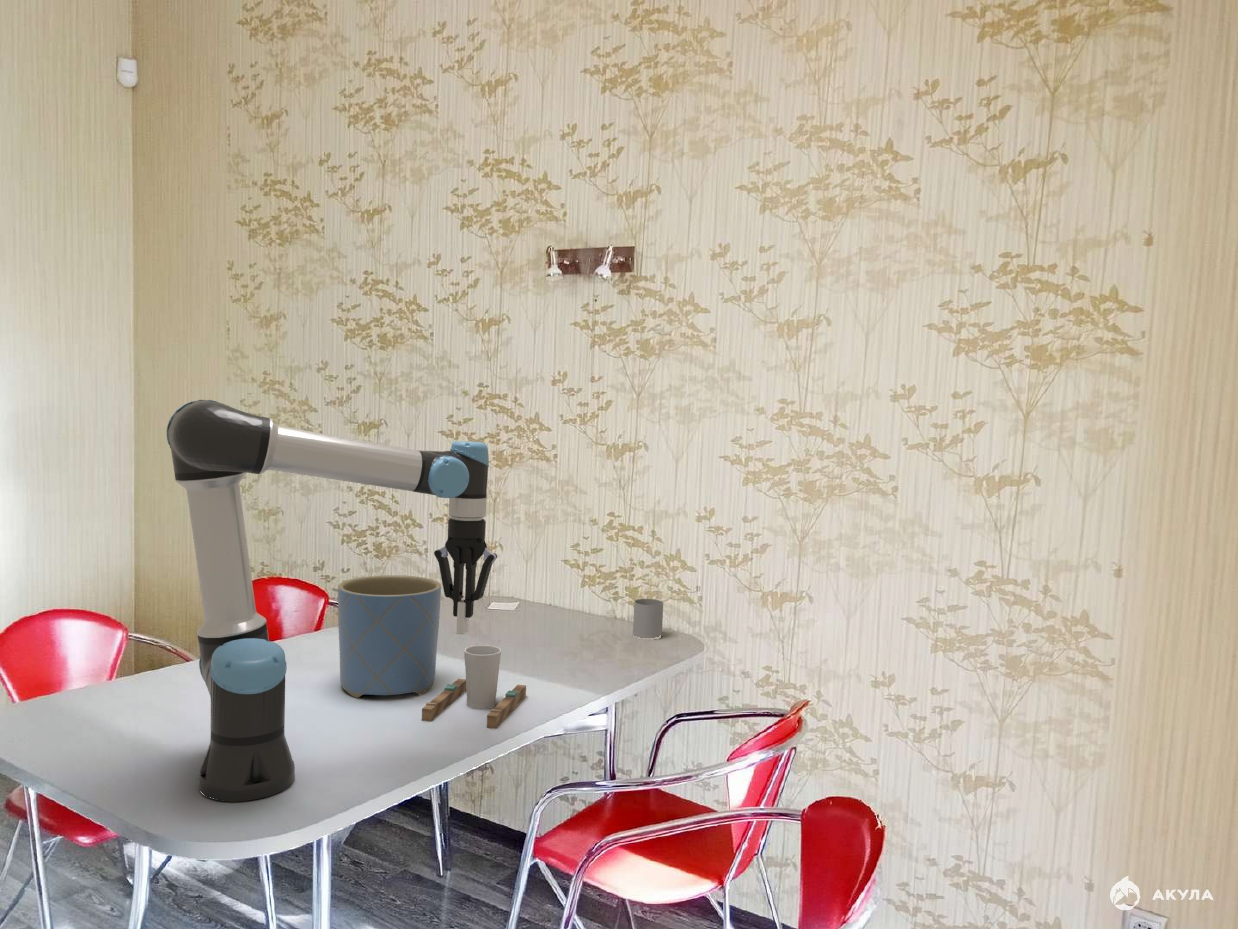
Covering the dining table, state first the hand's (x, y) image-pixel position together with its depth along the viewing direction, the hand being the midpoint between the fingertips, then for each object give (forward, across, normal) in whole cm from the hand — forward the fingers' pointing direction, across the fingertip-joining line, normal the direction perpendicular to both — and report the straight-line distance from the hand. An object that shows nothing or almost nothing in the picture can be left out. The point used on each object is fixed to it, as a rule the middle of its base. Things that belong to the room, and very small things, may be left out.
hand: (462, 632), depth 187 cm
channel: (+19, 0, -9) cm, 21 cm away
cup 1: (+19, -1, -12) cm, 22 cm away
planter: (+19, +24, -17) cm, 35 cm away
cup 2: (+18, -26, -81) cm, 87 cm away
